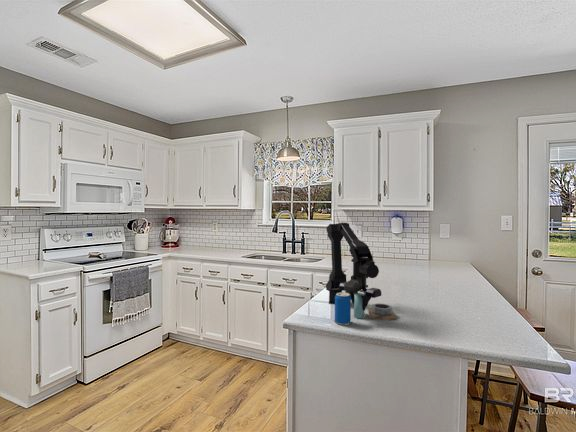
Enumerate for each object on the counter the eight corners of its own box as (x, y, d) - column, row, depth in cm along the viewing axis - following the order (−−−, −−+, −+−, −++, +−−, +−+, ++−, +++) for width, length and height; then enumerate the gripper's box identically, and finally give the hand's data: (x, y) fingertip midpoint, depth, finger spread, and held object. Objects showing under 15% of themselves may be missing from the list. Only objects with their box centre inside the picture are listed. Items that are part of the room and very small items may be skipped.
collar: (372, 315, 141) (372, 308, 141) (371, 309, 150) (371, 303, 150) (392, 316, 140) (392, 309, 140) (390, 310, 148) (390, 304, 148)
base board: (369, 318, 140) (369, 316, 140) (368, 310, 151) (368, 308, 151) (396, 320, 138) (396, 317, 138) (392, 312, 149) (392, 310, 149)
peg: (354, 318, 140) (354, 295, 140) (353, 314, 145) (354, 292, 145) (364, 318, 140) (364, 295, 139) (363, 315, 144) (364, 293, 144)
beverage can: (339, 319, 139) (340, 291, 139) (353, 322, 135) (353, 293, 135) (331, 323, 134) (332, 294, 134) (345, 326, 130) (345, 297, 130)
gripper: (331, 272, 143) (330, 307, 144) (366, 279, 129) (366, 318, 130) (347, 269, 151) (346, 302, 151) (382, 276, 137) (381, 312, 137)
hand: (359, 308), depth 142 cm, fingers closed on peg, 4 cm apart
